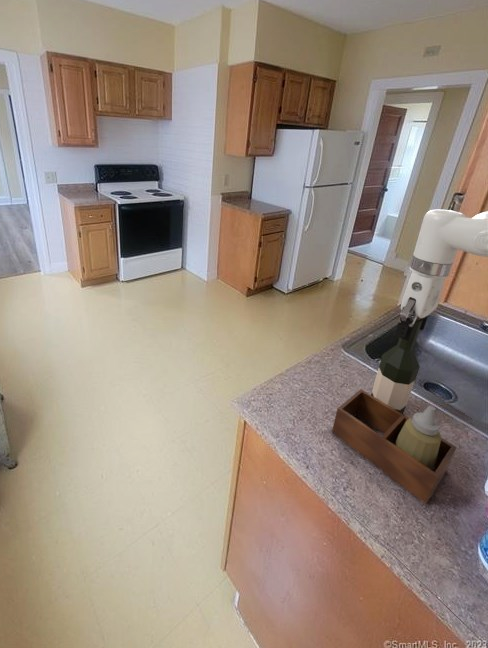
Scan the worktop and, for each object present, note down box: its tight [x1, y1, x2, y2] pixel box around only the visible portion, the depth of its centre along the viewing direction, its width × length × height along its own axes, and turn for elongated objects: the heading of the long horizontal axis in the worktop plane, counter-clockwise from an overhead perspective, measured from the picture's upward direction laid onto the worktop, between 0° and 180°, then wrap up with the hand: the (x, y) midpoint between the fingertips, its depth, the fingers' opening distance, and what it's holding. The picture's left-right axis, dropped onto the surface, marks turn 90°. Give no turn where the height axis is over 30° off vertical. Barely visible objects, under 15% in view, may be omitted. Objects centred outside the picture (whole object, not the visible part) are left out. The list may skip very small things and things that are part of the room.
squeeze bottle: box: [394, 405, 442, 472], centre depth 69 cm, size 8×8×18 cm
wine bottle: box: [370, 313, 422, 415], centre depth 83 cm, size 8×8×30 cm
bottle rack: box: [331, 388, 458, 504], centre depth 75 cm, size 21×11×8 cm, turn 38°
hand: (409, 332), depth 79 cm, fingers open, 7 cm apart
